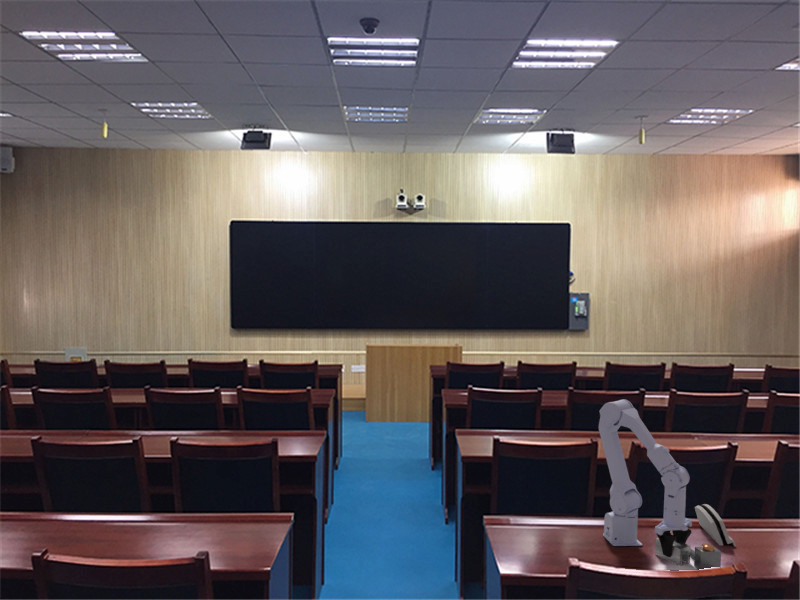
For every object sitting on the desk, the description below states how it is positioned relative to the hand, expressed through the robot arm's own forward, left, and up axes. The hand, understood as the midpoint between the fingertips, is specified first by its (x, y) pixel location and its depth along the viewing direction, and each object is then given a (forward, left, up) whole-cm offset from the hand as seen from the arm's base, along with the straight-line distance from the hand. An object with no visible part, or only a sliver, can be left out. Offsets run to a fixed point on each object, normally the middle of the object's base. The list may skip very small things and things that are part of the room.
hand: (672, 553), depth 172 cm
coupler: (+7, -2, -1) cm, 7 cm away
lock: (0, 0, -2) cm, 2 cm away
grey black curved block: (+23, +16, -2) cm, 28 cm away
